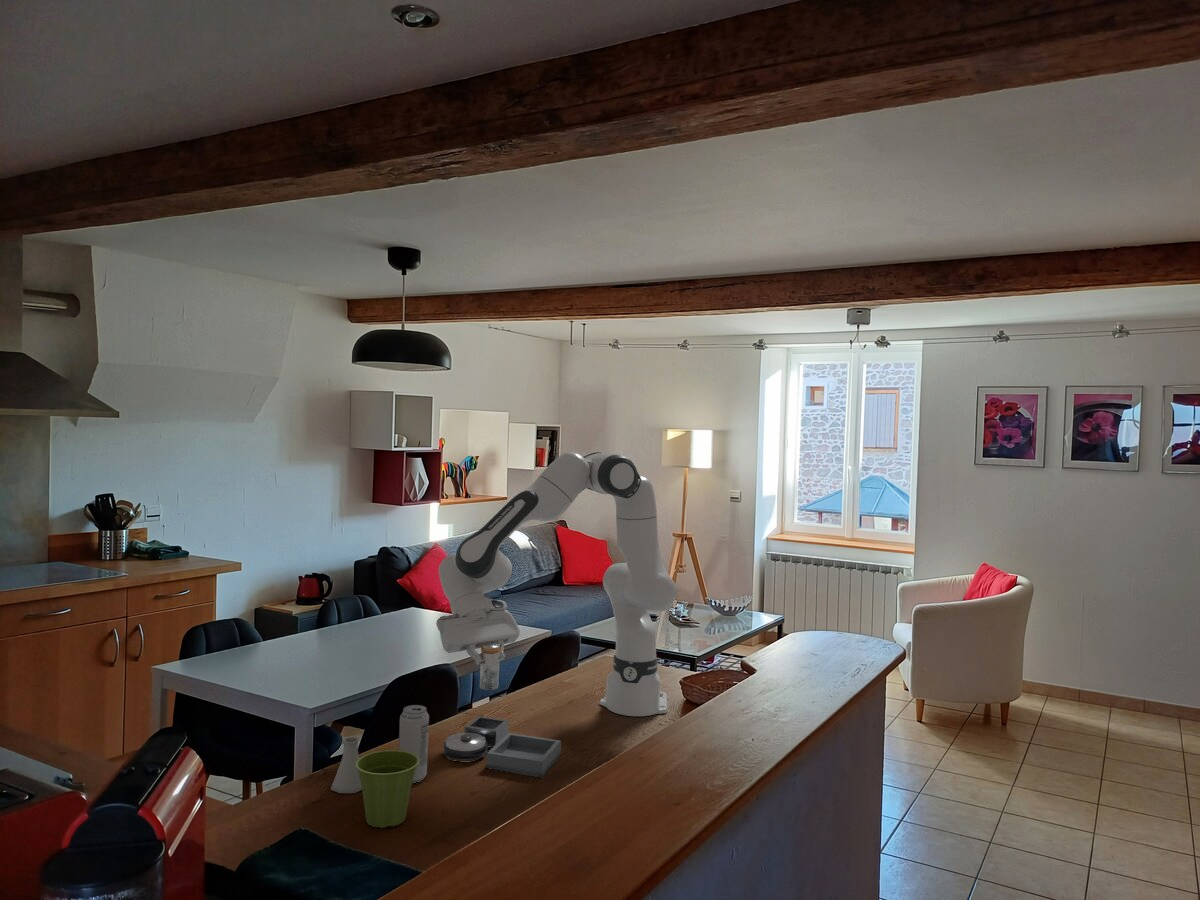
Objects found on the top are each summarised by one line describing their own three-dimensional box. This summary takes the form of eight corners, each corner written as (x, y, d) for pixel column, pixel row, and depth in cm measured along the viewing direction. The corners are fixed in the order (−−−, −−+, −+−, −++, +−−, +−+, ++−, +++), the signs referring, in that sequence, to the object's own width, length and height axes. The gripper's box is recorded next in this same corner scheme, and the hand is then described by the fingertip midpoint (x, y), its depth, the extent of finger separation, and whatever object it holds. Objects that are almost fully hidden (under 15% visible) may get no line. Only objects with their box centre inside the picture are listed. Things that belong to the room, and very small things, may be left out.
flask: (356, 797, 165) (358, 747, 165) (323, 792, 167) (325, 743, 167) (373, 782, 173) (375, 734, 172) (341, 777, 174) (343, 730, 174)
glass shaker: (484, 683, 201) (485, 642, 201) (501, 685, 200) (502, 644, 199) (476, 688, 197) (478, 647, 196) (494, 691, 195) (495, 649, 195)
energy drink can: (401, 772, 178) (404, 703, 178) (429, 773, 178) (432, 704, 177) (393, 784, 172) (396, 712, 172) (422, 785, 172) (425, 714, 171)
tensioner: (470, 730, 204) (470, 714, 204) (508, 736, 201) (508, 719, 201) (435, 759, 185) (436, 741, 185) (476, 766, 183) (477, 747, 183)
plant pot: (422, 806, 163) (424, 749, 162) (410, 836, 151) (413, 775, 150) (361, 804, 162) (364, 748, 162) (345, 834, 150) (347, 773, 150)
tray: (507, 747, 194) (508, 732, 194) (560, 755, 191) (561, 740, 191) (486, 768, 182) (486, 753, 182) (542, 777, 178) (542, 761, 178)
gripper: (439, 610, 196) (458, 660, 189) (510, 601, 209) (531, 648, 202) (429, 624, 200) (448, 675, 193) (500, 615, 213) (520, 661, 206)
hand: (491, 661), depth 198 cm, fingers closed on glass shaker, 4 cm apart
